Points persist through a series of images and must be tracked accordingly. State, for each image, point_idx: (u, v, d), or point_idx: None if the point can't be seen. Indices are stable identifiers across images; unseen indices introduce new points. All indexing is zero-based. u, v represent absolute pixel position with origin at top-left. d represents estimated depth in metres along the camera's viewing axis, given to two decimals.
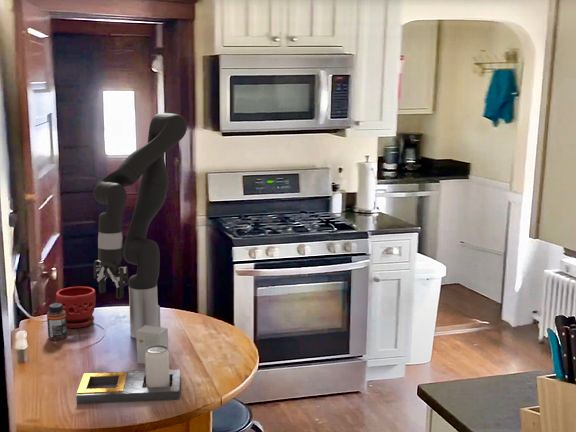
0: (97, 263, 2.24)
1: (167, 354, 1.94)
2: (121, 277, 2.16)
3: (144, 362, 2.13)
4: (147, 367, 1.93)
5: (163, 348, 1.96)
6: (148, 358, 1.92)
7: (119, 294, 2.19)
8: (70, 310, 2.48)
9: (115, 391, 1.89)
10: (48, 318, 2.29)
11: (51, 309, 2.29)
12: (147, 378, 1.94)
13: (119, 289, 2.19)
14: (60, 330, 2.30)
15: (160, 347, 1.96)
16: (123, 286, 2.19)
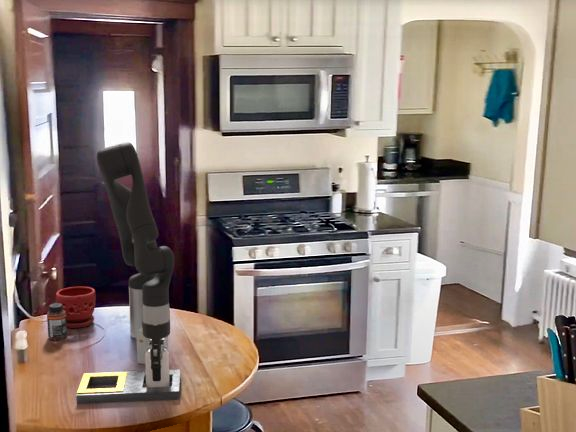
0: None
1: (167, 354, 1.94)
2: None
3: (144, 362, 2.13)
4: (147, 367, 1.93)
5: None
6: (148, 357, 1.92)
7: None
8: (70, 310, 2.48)
9: (115, 391, 1.89)
10: (48, 318, 2.29)
11: (51, 309, 2.29)
12: (147, 378, 1.94)
13: None
14: (60, 330, 2.30)
15: None
16: None
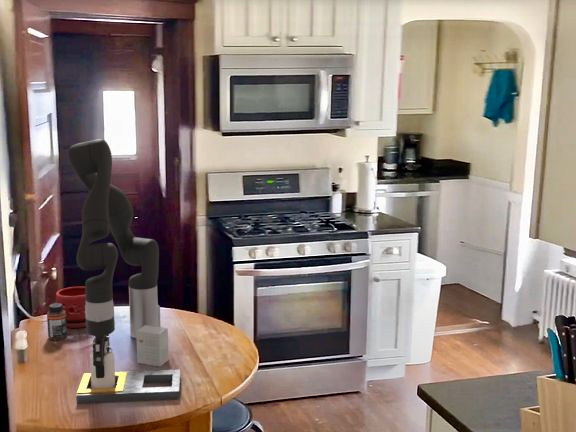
0: None
1: (112, 356, 1.92)
2: (108, 336, 1.99)
3: (144, 362, 2.13)
4: (91, 369, 1.91)
5: (108, 350, 1.94)
6: (92, 359, 1.91)
7: None
8: (70, 310, 2.48)
9: (115, 391, 1.89)
10: (48, 318, 2.29)
11: (51, 309, 2.29)
12: (92, 380, 1.92)
13: None
14: (60, 330, 2.30)
15: None
16: None
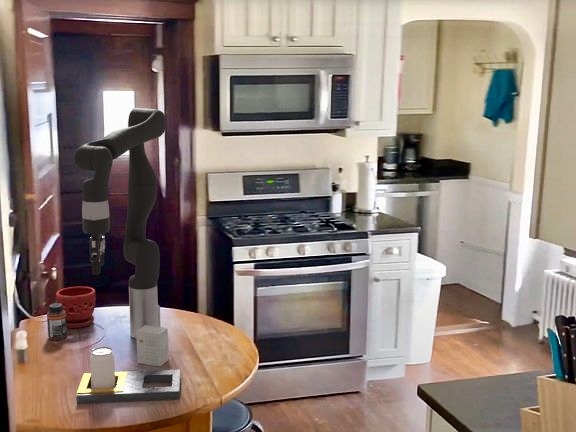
0: None
1: (112, 356, 1.92)
2: None
3: (144, 362, 2.13)
4: (91, 369, 1.91)
5: (108, 350, 1.94)
6: (92, 359, 1.91)
7: None
8: (70, 310, 2.48)
9: (115, 391, 1.89)
10: (48, 318, 2.29)
11: (51, 309, 2.29)
12: (92, 380, 1.92)
13: None
14: (60, 330, 2.30)
15: (105, 349, 1.95)
16: None
